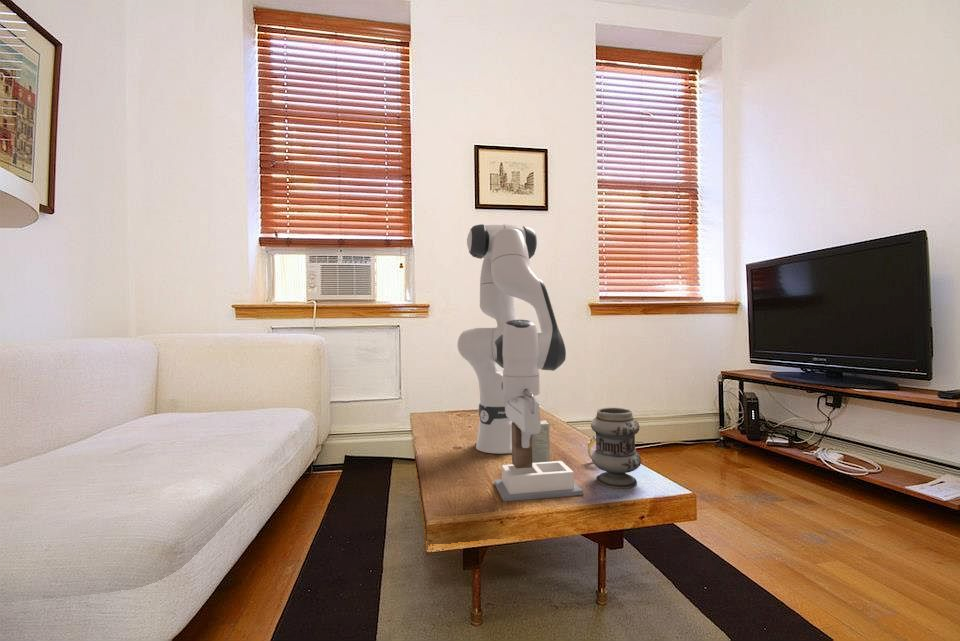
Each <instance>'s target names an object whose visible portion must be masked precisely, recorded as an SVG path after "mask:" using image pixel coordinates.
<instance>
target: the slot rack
mask: <svg viewBox="0 0 960 641" xmlns="http://www.w3.org/2000/svg"><path fill="white" fill-rule="evenodd" d="M493 482H494V485H495V488H496V489H497V491H498V493H499V495H500V497H501V499H502V501H503V502H515V501H526V500H537V499H549V498H559V497H562V498H563V497H575V496H582V495H584V489H582V488H581V487H580V486H579V485H578V484H577V483H576V482H575V471H573V470H572V469H571V468H570V467H569V466H568V465H567V464H565V462H563V461H562V460H557V461H556V460H555V461H554V460H553V461H550V462H538V463H532V467H531V468H515V466H514V465H513V464H512V463H511V464H502V465H501V479H494V481H493Z"/></svg>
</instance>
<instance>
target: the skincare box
mask: <svg viewBox="0 0 960 641" xmlns="http://www.w3.org/2000/svg"><path fill="white" fill-rule="evenodd" d="M540 421H541V430H540V433H539V434H532V463H538V462H551V446H550V439H551V438H550V423H549V422H548V421H547V420H540Z"/></svg>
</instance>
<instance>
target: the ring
mask: <svg viewBox="0 0 960 641" xmlns="http://www.w3.org/2000/svg"><path fill="white" fill-rule="evenodd" d="M594 444H596V433H595V435H592V436H591V437H590V438H589V439H588V442H586V453H587V455H588V457H589V458H590V459H591V460H592V458H591V456H592V453H591V447H592V446H593V445H594Z"/></svg>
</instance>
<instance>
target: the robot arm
mask: <svg viewBox="0 0 960 641" xmlns="http://www.w3.org/2000/svg"><path fill="white" fill-rule="evenodd" d="M466 246H467V249H468V253H469V254H470V255H471V257H473V258H476V259H480V260H482V259H483V260H482V265H481V270H480V278H479V308H480V310H481V312H482V313H483V314H485V315H487V316H488V317H490V318H492V319H494V320H495V321H496V324H497V325H496V326H497V327H476V328H470V329H466V330H463V331H462V332H461V334H460V335H459V337H458V339H457V350H458V352H459V355H460V356H461V357H462V358H463V359H464V360H465V361H467V362H468V364H470V366H471V367H472V368H473V371H475V374H476V377H477V381H478V388H479V404H478V415H479V416H478V417H479V422H478V423H479V424H478V432H477V439H476V444H475V449H476V450H477V451H479V452H482V453H486V454H487V453H488V454H501V455H502V454H512V422H513V423H514V424H515V425H516V426H517V427H518V428H519V429H520V430H521V433H522V436H521V446H522V447H523V448H529V446H530V445H529V440H530V437H531V434H539V433H540V430H541V421H542V420H541V408H540V404H539V401H538V399H537V398H536V397H535V396H538V395H540V390H541V389H540V371H539V370H541V371H551V372H553V371H556V370H558V369H559V368H560V367H561V366H562V365H563V364H564V362H565V361H566V358H567V357H566V356H567V349H566V345H565V344H566V343H565V342H564V338H563V337H562V334H561V331H560V329H559V326H558V322H557V320H556V316H555V313H554V310H553V305H552V303H551V300H550V296H549V293H548V291H547V287H546V284H545V283H544V281H543V280H542V279H540V278H539V277H537V276H536V275H535V273H534V272H533V270H532V268H531V265H530V259H531V258H532V257H534V255H535V254H536V253H535V252H536V250H537V247H538V238H537V233H536V232H535V230H534V229H533V228H531V227H527V226H524V225H523V226H518V225H512V224H505V223H503V224H486V225H485V224H483V223H482V224H476V225H473V226H472V227H471V228H470V229H469V232H468V234H467V238H466ZM515 298H517V299H519V300H522V301H524V302H526V303H528V304H530V305H531V306H532V307H533V308H534V310H535V312H536V317H537V319H538V323H539V328H540V331H541V332H538V330H537V325H536V323H535V322H533V321H532V320H528V319H519V318H518V315H517V313H516V310H515V301H514V299H515ZM497 365H498V366H497ZM499 366H500V367H501V368H502V369H503V371H502V370H500V369H499V368H498V367H499Z"/></svg>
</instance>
